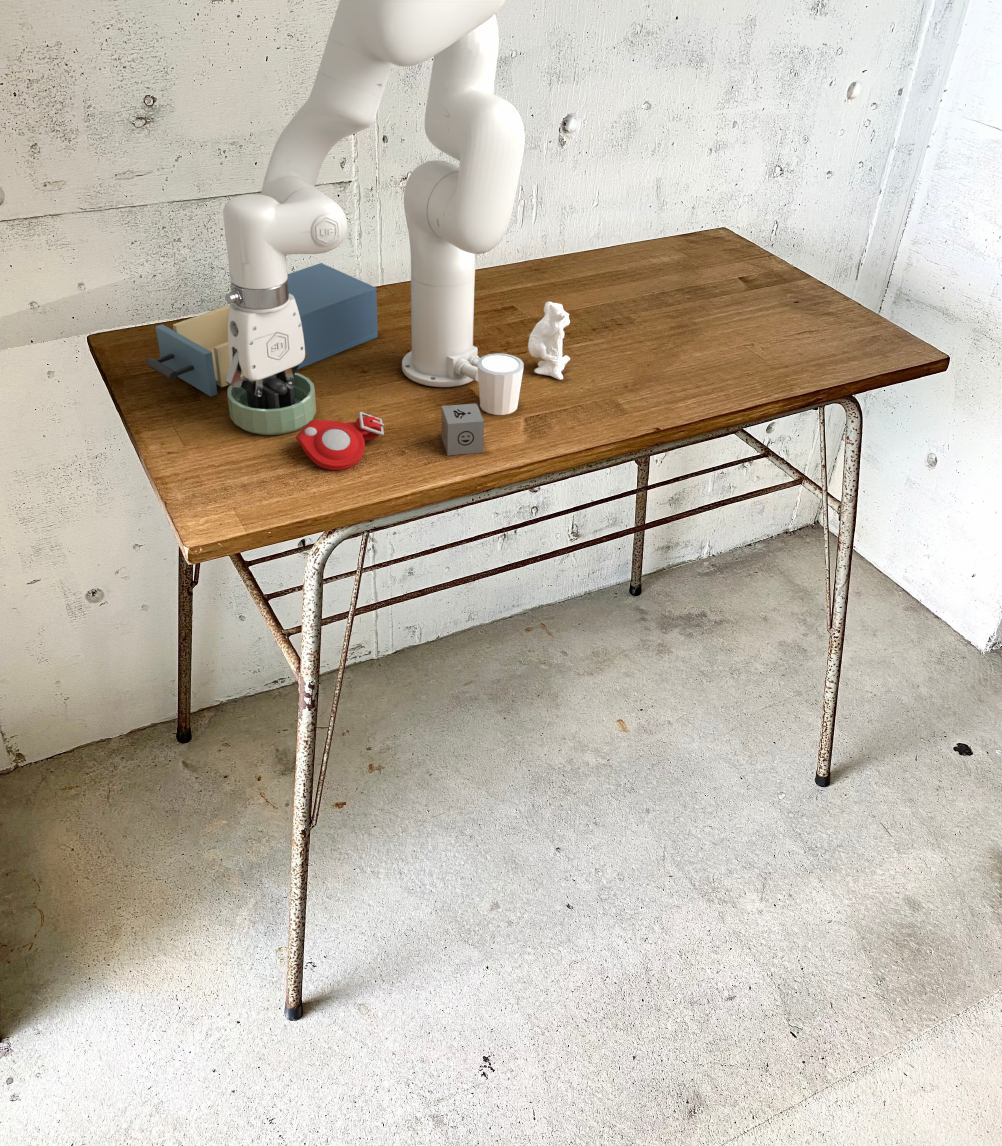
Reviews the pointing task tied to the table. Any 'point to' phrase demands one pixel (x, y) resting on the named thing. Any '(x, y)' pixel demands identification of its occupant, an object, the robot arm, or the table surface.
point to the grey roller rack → (276, 393)
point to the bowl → (274, 410)
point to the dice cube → (462, 429)
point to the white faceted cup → (499, 383)
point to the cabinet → (332, 310)
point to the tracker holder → (338, 440)
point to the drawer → (195, 351)
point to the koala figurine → (550, 341)
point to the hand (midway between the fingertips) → (271, 410)
